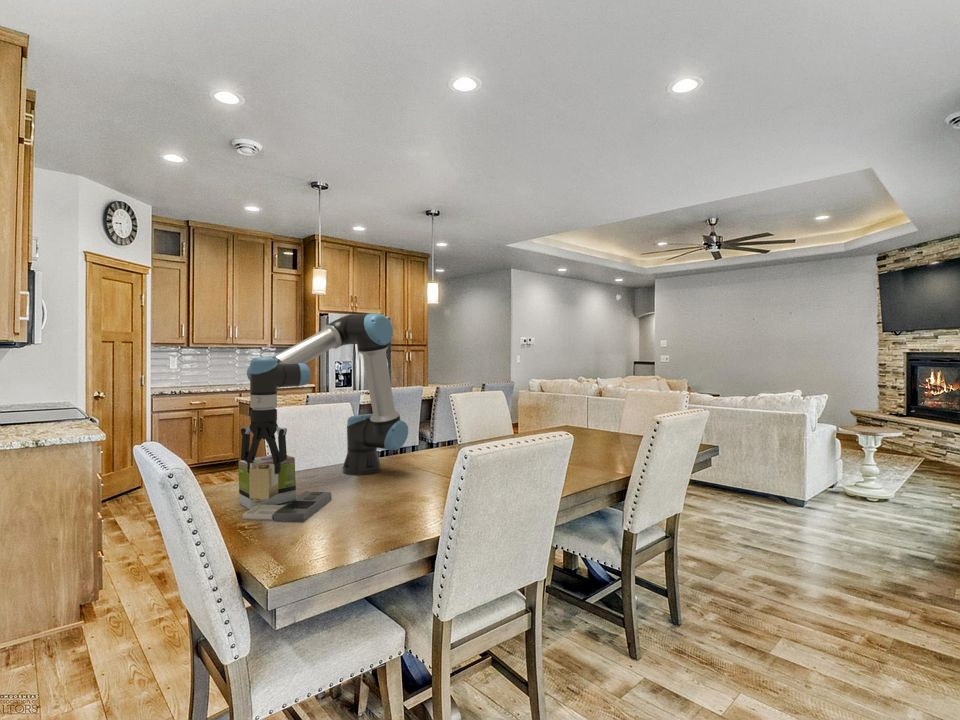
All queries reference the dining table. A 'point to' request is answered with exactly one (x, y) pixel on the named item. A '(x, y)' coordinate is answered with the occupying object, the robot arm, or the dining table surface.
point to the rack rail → (302, 507)
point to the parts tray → (262, 512)
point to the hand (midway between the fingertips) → (264, 483)
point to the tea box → (284, 483)
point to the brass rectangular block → (261, 482)
